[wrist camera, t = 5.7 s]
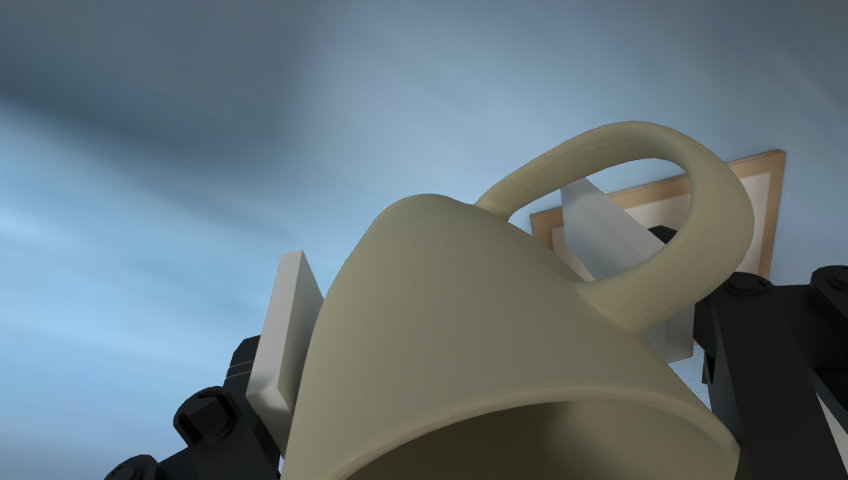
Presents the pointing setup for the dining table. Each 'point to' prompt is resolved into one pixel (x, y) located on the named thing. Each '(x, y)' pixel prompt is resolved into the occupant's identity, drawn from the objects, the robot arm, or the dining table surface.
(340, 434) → the mug
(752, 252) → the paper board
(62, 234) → the dining table surface
